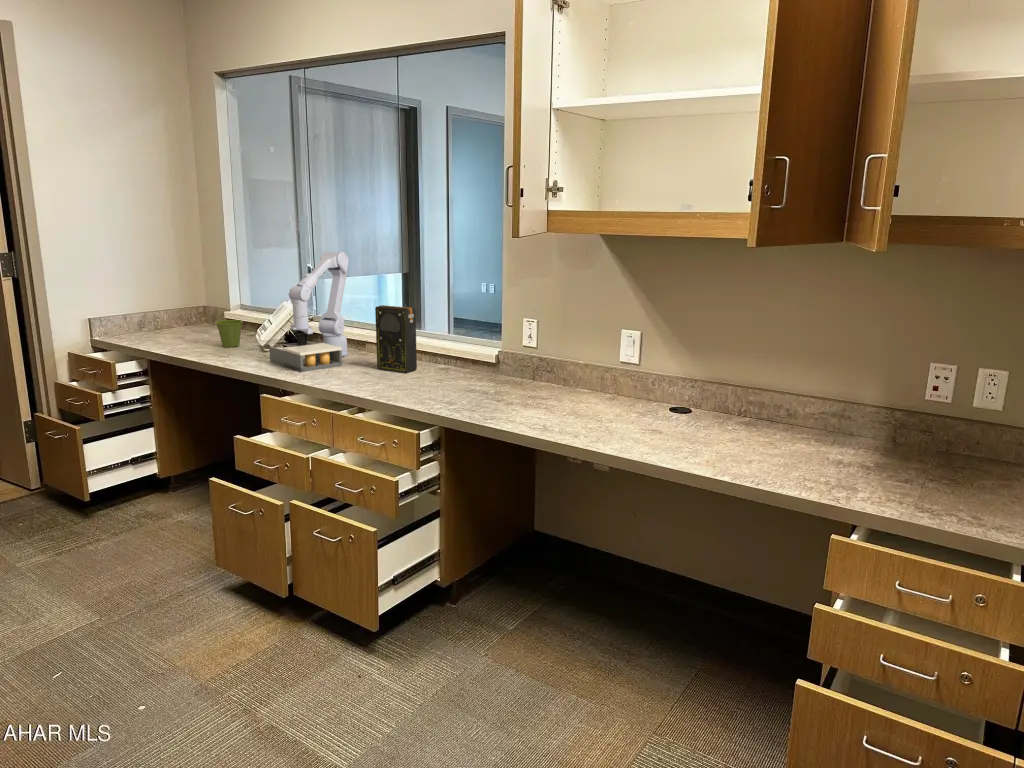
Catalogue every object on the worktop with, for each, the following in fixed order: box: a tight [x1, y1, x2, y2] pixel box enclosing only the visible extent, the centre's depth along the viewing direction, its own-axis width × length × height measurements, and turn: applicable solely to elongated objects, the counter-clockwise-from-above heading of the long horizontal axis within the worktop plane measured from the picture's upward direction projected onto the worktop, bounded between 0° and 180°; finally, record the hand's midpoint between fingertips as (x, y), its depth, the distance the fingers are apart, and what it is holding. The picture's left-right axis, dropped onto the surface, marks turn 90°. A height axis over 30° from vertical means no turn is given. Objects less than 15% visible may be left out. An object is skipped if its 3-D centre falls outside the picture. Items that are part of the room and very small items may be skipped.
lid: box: [282, 342, 342, 356], centre depth 290 cm, size 18×14×2 cm
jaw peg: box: [319, 352, 330, 365], centre depth 290 cm, size 4×4×6 cm
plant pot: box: [214, 319, 244, 348], centre depth 331 cm, size 12×12×11 cm
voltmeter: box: [374, 304, 418, 374], centre depth 283 cm, size 16×9×25 cm, turn 60°
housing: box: [268, 341, 343, 373], centre depth 295 cm, size 18×26×6 cm
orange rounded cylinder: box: [304, 353, 316, 367], centre depth 286 cm, size 4×4×6 cm
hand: (302, 349), depth 296 cm, fingers closed
